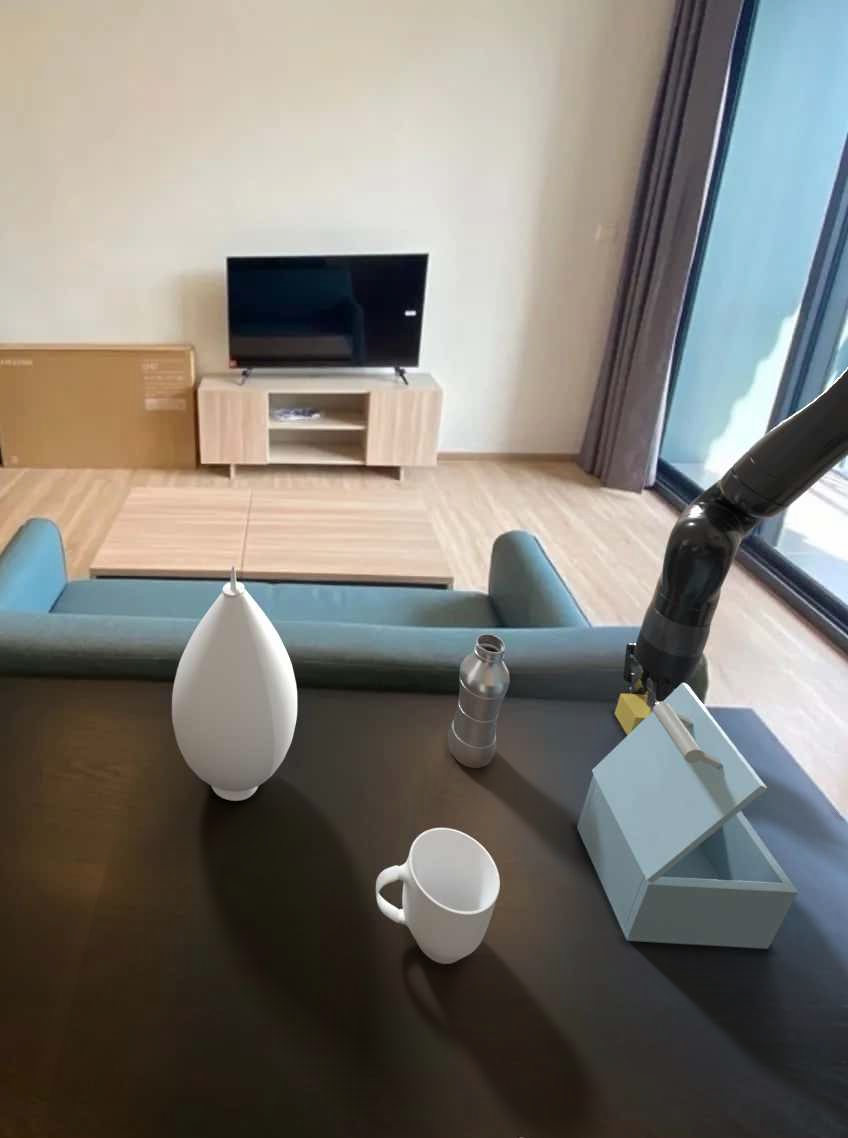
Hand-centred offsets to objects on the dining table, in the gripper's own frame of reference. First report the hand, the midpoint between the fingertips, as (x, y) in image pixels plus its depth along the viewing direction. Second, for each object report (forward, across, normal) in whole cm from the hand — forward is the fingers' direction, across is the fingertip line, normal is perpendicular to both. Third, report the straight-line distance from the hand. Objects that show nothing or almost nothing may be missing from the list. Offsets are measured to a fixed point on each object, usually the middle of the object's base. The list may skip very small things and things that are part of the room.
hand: (641, 726), depth 96 cm
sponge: (0, 0, 0) cm, 0 cm away
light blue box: (0, -23, +9) cm, 25 cm away
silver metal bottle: (+1, -6, +27) cm, 28 cm away
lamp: (+1, -12, +60) cm, 61 cm away
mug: (+1, -30, +38) cm, 48 cm away
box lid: (-17, -23, +13) cm, 31 cm away
